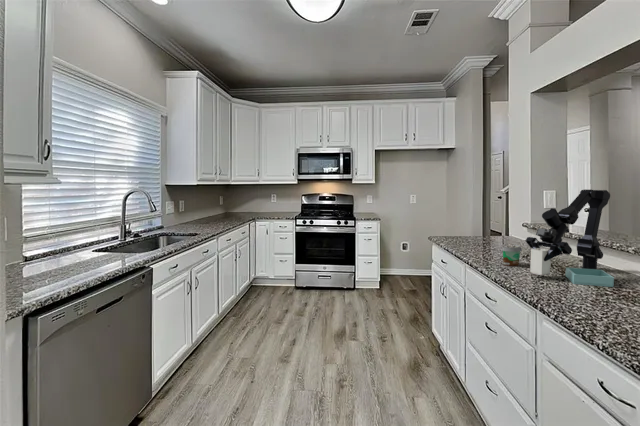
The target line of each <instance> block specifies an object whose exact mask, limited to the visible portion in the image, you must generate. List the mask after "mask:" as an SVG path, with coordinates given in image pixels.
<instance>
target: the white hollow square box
mask: <svg viewBox="0 0 640 426" xmlns="http://www.w3.org/2000/svg"><path fill="white" fill-rule="evenodd" d="M549 250H550V249H547V248H541V247H540V248H536V249H533V248H531V249H530V267H529V268H530V270H529V271H530V274H534V275H539V276H547V275H550V274H551V259H549V260H547V261H544V258H545V256H546V255H547V253H548V251H549Z"/></svg>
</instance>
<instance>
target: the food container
mask: <svg viewBox="0 0 640 426" xmlns="http://www.w3.org/2000/svg"><path fill="white" fill-rule="evenodd" d="M521 251H523V249H522V247H521V245H519V244H513V246H502V263H503V266H504V267H519V266H520V257H521Z"/></svg>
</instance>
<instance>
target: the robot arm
mask: <svg viewBox="0 0 640 426" xmlns="http://www.w3.org/2000/svg"><path fill="white" fill-rule="evenodd" d="M610 198H611V193H610V192H609V191H608V190H607V189H582V190H580V192H579V194H578V195H577V196H576V197H575V199H573V200H572V201H571V203H569V205H568V206H567V207H565V208H562V209H561V210H559V211H558V210H557V209H556V208H553V207H551V208H550V209H549V210H546V211H544V212H543V213H542V215H541V217H542V219H543V221H544V222H545V224H546V225H547V226H548V227H550V228H549V229H547V228H540V227H538V228H537V230H536V234H535V235H536V236H538V237H539V239H540V240H538V238H537V237H531V236H528V237H526V238H525V241H524V242H525V243H526V244H527V245H528V246H529V248H531V249H536V248H541V247H544V248H549V249H548V250H549V251H548V253H547V255H546V256H545V258H544V261H547V260H549V259H550V260H551V259H553V258H555V257H558V256H560V255H561V256H562V255H564V254H565V255H571V254H572V251H573V248H572V247H571V246H570V244H569V243H568V242H567V241H563V238H562V237H563V236H564V234H565V233H570V229H569V226H568V225H571V226H573V225H574V224H575V223H576V222H577V221H578V220H579V219H578V218H579V213H580V212H581V211H582V210H583V209H584V207H585V206H586V205H587V204H588V206H589V208H588V213H587V219H586V224H585V229H584V233H583V236H582V237H578V239H577V244H576V252H577V257H582V265H580V266H579V268H582V269H597V270H600V269H599V268H598V260H602V259H603V257H604V253H603V251H602V250H601V248H600V242H599V240H598V238H597V237H598V232H599V228H600V223H601V219H602V217H601V216H602V213H603V209H604V208H605V207H606V206H607V205H608V204H609V200H610Z"/></svg>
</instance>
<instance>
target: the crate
mask: <svg viewBox="0 0 640 426" xmlns="http://www.w3.org/2000/svg"><path fill="white" fill-rule="evenodd" d="M597 269H598V268H597ZM597 269H582V268H580V267H565V277H566V278H567V279H568V280H569V281H570V282H571V283H572V284H573V285H583V286H584V285H586V286H597V287H609V288H613V287H614V283H615V279H614V278H615V277H614V276H612V275H611V274H610V273H608V272H606V271H605V270H603V269H599V270H597Z"/></svg>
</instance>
